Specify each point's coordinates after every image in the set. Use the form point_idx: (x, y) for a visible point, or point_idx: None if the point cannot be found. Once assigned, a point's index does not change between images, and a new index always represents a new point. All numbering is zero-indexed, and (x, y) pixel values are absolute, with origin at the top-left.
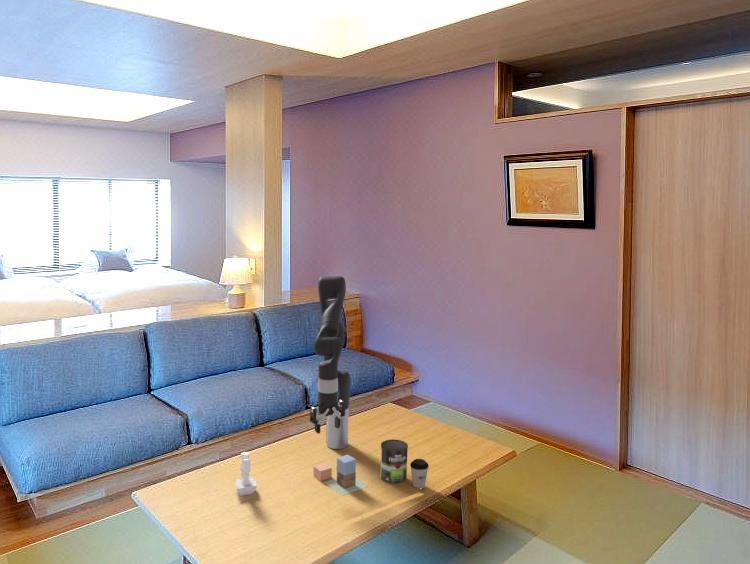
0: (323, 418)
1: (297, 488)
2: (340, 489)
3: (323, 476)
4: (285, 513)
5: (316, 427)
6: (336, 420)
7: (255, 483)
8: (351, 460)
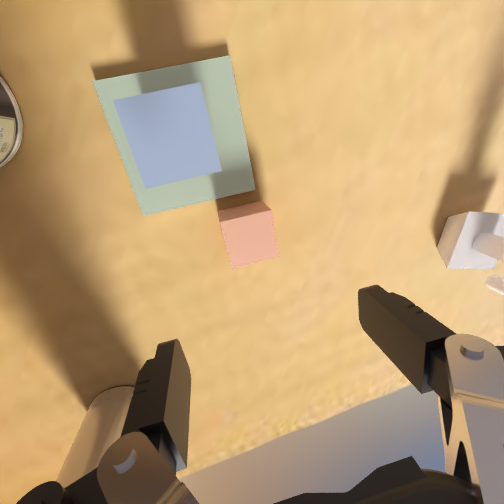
0: (472, 404)
1: (336, 199)
2: (219, 108)
3: (253, 208)
4: (436, 55)
5: (435, 321)
6: (176, 420)
7: (465, 226)
8: (146, 97)
